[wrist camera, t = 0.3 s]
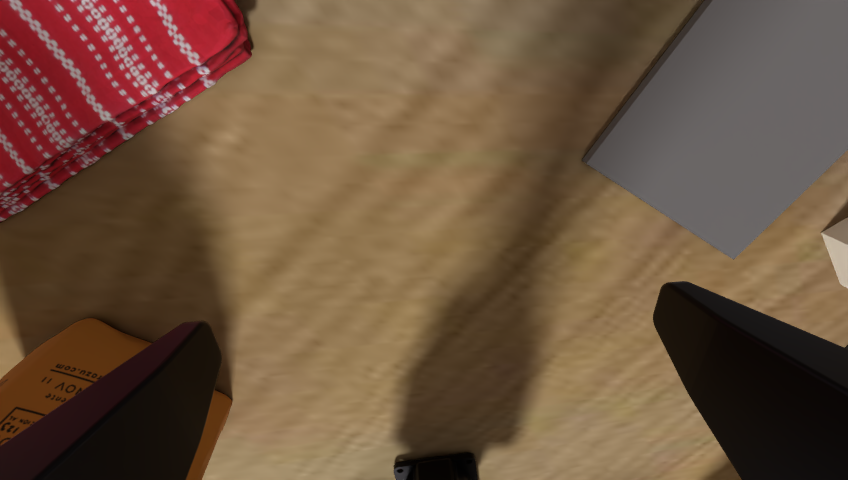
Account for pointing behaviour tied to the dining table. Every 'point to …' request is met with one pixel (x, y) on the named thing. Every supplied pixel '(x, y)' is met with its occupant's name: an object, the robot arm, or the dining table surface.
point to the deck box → (838, 249)
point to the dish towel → (99, 79)
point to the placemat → (735, 117)
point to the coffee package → (84, 381)
